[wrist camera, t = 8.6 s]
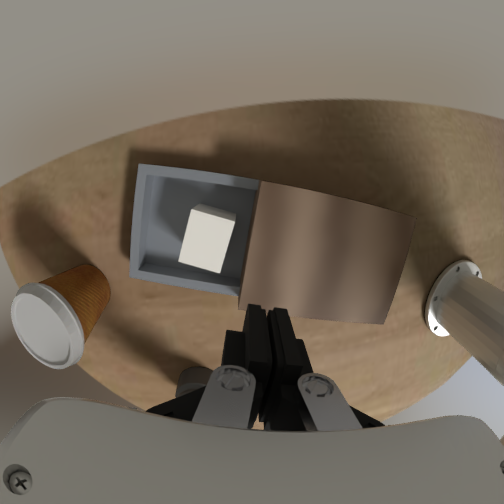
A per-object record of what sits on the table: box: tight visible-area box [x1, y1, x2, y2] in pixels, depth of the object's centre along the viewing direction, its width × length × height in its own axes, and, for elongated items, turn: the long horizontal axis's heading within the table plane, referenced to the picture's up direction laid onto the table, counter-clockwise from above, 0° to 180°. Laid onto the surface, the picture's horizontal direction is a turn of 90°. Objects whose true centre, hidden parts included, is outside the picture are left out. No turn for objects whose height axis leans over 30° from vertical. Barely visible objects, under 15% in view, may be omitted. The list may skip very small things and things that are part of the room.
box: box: [129, 164, 259, 296], centre depth 28 cm, size 12×12×3 cm
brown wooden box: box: [238, 180, 417, 324], centre depth 28 cm, size 16×12×6 cm
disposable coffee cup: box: [11, 264, 110, 369], centre depth 25 cm, size 10×10×12 cm
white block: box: [178, 203, 236, 273], centre depth 27 cm, size 5×5×4 cm
